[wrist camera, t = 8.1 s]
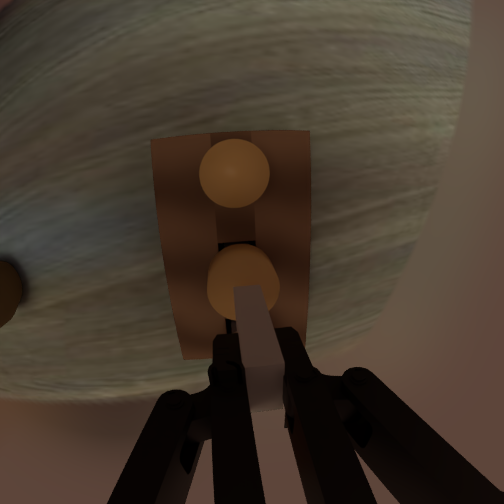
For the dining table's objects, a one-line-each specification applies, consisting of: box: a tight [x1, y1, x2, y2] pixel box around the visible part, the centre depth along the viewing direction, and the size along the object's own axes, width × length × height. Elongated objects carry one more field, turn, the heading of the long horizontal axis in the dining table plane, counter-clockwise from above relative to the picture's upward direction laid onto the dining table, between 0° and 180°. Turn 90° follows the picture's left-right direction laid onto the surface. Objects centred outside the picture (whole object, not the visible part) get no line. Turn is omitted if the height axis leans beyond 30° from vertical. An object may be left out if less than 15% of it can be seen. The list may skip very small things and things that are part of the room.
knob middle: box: [207, 241, 280, 321], centre depth 21 cm, size 5×5×8 cm
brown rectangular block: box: [151, 130, 311, 360], centre depth 26 cm, size 20×12×6 cm, turn 3°
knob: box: [199, 139, 270, 208], centre depth 22 cm, size 5×5×8 cm
